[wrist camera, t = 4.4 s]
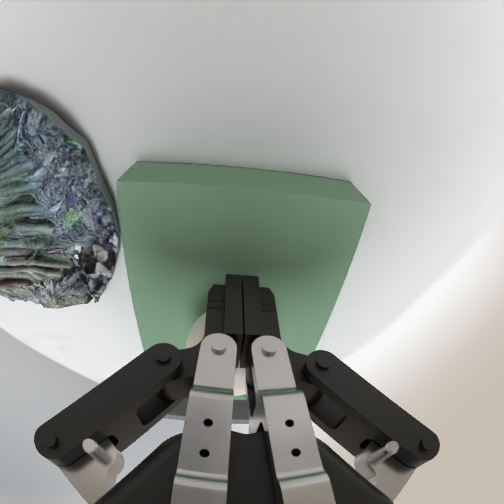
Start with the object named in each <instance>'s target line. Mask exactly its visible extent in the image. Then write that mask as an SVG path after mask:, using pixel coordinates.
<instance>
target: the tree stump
mask: <svg viewBox="0 0 504 504" xmlns="http://www.w3.org/2000/svg"><path fill="white" fill-rule="evenodd" d="M75 245H79V246H81V247H82V248H81V252H80V253H79V251H78V250H75ZM118 250H119V226H118V221H117V216H116V211H115V207H114V201H113V199H112V197H111V195H110V192H109V190H108V188H107V185H106V183H105V181H104V178H103V176H102V174H101V171H100V169H99V166H98V164H97V161H96V159H95V156H94V154H93V151H92V149H91V146H90V144H89V142H88V141H87V140H86V139H85V138H83V137H82V136H81V135H80V134H79V133H78V132H76V131H75V130H74V129H73V128H72V127H70V126H69V125H68V124H67V123H66V122H65V121H63V120H62V119H61V118H60V117H59V116H58V115H57V114H56V113H54V112H53V111H52V110H50V109H49V108H47V107H45V106H43V105H41V104H39V103H38V102H36V101H34V100H32V99H30V98H28V97H25V96H22V95H19V94H16V93H13V92H10V91H8V90H4V89H0V295H2V296H4V297H6V298H9V299H10V300H11V301H15V300H24V301H25V302H26V301H28V300H30V301H33V302H34V303H35V304H41V305H43V307H44V308H45V307H46V308H63V307H68V306H72V305H78V304H84V303H85V304H88V303H89V302H90V301H91V300H92V299H93V298H94V297H95V303H96V302H98V301H99V298H100V296H101V295H102V294H103V292H104V290H105V289H106V285H107V283H108V281H109V280H110V279H111V278H112V274H113V270H114V266H115V262H116V258H117V254H118ZM75 254H77V255H78V257H79V259H76V258H74V255H75Z"/></svg>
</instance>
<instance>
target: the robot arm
mask: <svg viewBox="0 0 504 504" xmlns="http://www.w3.org/2000/svg"><path fill="white" fill-rule="evenodd" d="M239 363H240V368H245V375H246V377H245V382H244V386H245V393H246V401H247V409H248V416H249V434H242V433H238V432H234V431H231V425H232V411H233V398H234V378H235V371H236V368H238V365H239ZM187 397H189V400H188V405H187V411H186V417H185V423H184V429H183V433H181V434H178V435H175V436H173V437H171V438H169V439H167V440H166V441H164V442H163V443H162V444H161V445H159V447H157V448H156V449H155V450H154V451H153V452H152V453H151V454H150V455H149V456H148V457H147V458H145V459H144V460H143V461H142V462H141V463H140V464H139V465H138V466H137V467H135V468H134V469H133V470H132V471H131V472H130V473H129V474H128V475H126V477H124V478H123V479H122V480H121V481H120V482H118V483H117V484H116V485H115V481H116V477H117V475H118V474H119V473H120V472H121V470H122V469H123V467H124V458H123V455H122V453H121V452H122V451H123V450H124V449H126V448H127V447H128V446H130V445H131V444H132V443H133V442H135V441H136V440H137V439H138V438H139V437H141V436H142V435H143V434H144V433H146V432H147V431H148V430H149V429H150V428H151V427H152V426H154V425H155V424H156V423H157V422H158V421H160V420H161V419H162V418H163V417H164V416H166V415H167V414H168V413H169V412H170V411H171V410H172V409H174V408H175V407H176V406H177V405H178V404H179V403H180V402H182V401H183V399H184V398H187ZM311 420H312V421H313V422H314V423H315V424H316V425H318V426H319V427H320V428H321V429H322V430H323V431H325V432H326V433H327V434H328V435H329V436H330V437H332V438H333V439H334V440H335V441H336V442H337V443H339V444H340V445H341V446H342V447H344V448H345V449H346V450H347V451H348V452H350V453H351V454H352V455H354V456H355V460H354V465H355V469H356V470H355V469H353V467H351V466H350V465H349V464H348V463H347V462H345V461H344V460H343V459H342V458H341V457H340V456H339V455H338V454H337V453H335V452H334V451H333V450H332V449H331V448H330V447H329V446H328V445H326V444H325V443H324V442H322V441H321V440H319V439H318V438H316V437H315V435H314V431H313V427H312V423H311ZM34 443H35V446H36V449H37V450H38V452H39V453H40V454H41V455H42V456H44V457H45V458H47V459H48V460H50V461H51V462H52V463H53V464H55V465H56V466H58V467H59V468H60V469H61V471H62V472H63V473H64V475H65V476H66V477H67V478H68V480H69V481H70V482H71V484H72V485H73V486H74V487H75V489H77V491H78V492H79V493H80V495H81V496H82V497H83V498H84V499H85V500H86V501H87V503H88V504H394V503H393V500H394V499H395V498H396V496H397V495H398V494H399V492H400V491H401V490H402V488H403V487H404V485H405V484H406V483H407V481H408V480H409V478H410V477H411V475H412V474H413V472H414V471H415V469H416V468H417V467H419V466H420V465H422V464H424V463H426V462H427V461H429V460H431V459H433V458H434V457H435V456H436V455H437V453H438V451H439V447H440V443H439V439H438V437H437V435H436V434H435V433H434V432H432V431H431V430H430V429H428V428H427V427H426V426H425V425H423V424H422V423H420V422H419V421H418V420H416V419H415V418H414V417H412V416H411V415H410V414H409V413H407V412H406V411H405V410H403V409H402V408H401V407H399V406H398V405H397V404H396V403H394V402H393V401H391V400H390V399H389V398H388V397H386V396H385V395H384V394H383V393H381V392H380V391H379V390H377V389H376V388H375V387H374V386H372V385H371V384H370V383H368V382H367V381H366V380H364V379H363V378H362V377H361V376H360V375H358V374H357V373H356V372H355V371H353V370H352V369H351V368H350V367H348V366H347V365H346V364H344V363H343V362H342V361H341V360H339V359H338V358H337V357H336V356H335V355H333V354H332V353H330V352H328V351H324V350H317V351H313V352H312V353H310V354H309V355H304V354H301V353H297V352H294V351H292V350H290V349H289V348H287V347H286V346H285V344H284V343H283V342H282V340H281V336H280V329H279V322H278V315H277V309H276V302H275V296H274V294H273V293H272V291H271V290H270V289H269V288H268V287H259V277H258V276H251V275H242V276H241V275H235V274H226V277H225V285H220V284H213V286H212V287H211V289H210V290H209V291H208V301H207V310H206V321H205V332H204V337H203V339H202V340H201V341H200V342H199V343H198V344H197V345H195V346H193V347H190V348H186V349H180V350H179V349H178V348H177V347H175V346H174V345H172V344H169V343H158V344H155V345H153V346H151V347H150V348H149V349H147V350H146V351H144V352H143V353H142V354H140V355H139V356H138V357H136V358H135V359H134V360H132V361H131V362H129V363H128V364H127V365H125V366H124V367H123V368H121V369H120V370H118V371H117V372H116V373H114V374H113V375H111V376H110V377H109V378H107V379H106V380H105V381H103V382H102V383H100V384H99V385H98V386H96V387H95V388H93V389H92V390H91V391H89V392H88V393H86V394H85V395H84V396H82V397H81V398H79V399H78V400H77V401H75V402H74V403H72V404H71V405H70V406H68V407H67V408H65V409H64V410H62V411H61V412H60V413H58V414H57V415H55V416H54V417H53V418H51V419H50V420H48V421H47V422H45V423H44V424H43V425H41V426H40V427H39V428H38V429H37V431H36V433H35V436H34ZM358 472H359V473H358Z"/></svg>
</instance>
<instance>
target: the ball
mask: <svg viewBox="0 0 504 504" xmlns="http://www.w3.org/2000/svg"><path fill="white" fill-rule="evenodd" d="M205 321H206V313H204V314H203V315H201V316H200V317H199V318H198V319H197V320H196V321H195V323H194V324H193V326H192V327H191V329H190V331H189V333H188V336H187V340H186V348H190V347H193V346H195V345H197V344H198V343H199V342H200V341H201V340H202V339H203V337H204V332H205ZM186 348H185V349H186ZM245 377H246V375H245V368H240V363H239V365H238V368H236V371H235V378H234V396H241V395H245V394H246V393H245V386H244V382H245Z"/></svg>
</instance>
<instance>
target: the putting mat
mask: <svg viewBox="0 0 504 504" xmlns="http://www.w3.org/2000/svg"><path fill="white" fill-rule="evenodd" d="M116 183H117V196H118V207H119V216H120V225H121V233H122V241H123V248H124V255H125V262H126V268H127V274H128V279H129V285H130V290H131V295H132V301H133V305H134V310H135V315H136V319H137V324H138V328H139V332H140V336H141V341H142V345H143V348H144V351H146V350H147V349H149V348H150V347H151V346H153V345H155V344H158V343H169V344H172V345H174V346H175V347H177V348H178V349H179V350H180V349H185V348H186V340H187V336H188V333H189V331H190V329H191V327H192V326H193V324H194V323H195V321H196V320H197V319H198V318H199V317H200V316H201V315H203V314H204V313H206V310H207V301H208V291H209V290H210V289H211V287H212V286H213V284H220V285H225V277H226V274H235V275H241V276H242V275H251V276H258V277H259V287H268V288H269V289H270V290H271V291H272V293H273V294H274V296H275V302H276V309H277V315H278V322H279V329H280V336H281V340H282V342H283V343H284V344H285V346H286V347H287V348H289V349H290V350H292V351H294V352H297V353H301V354H304V355H309V354H310V353H312V352H313V351H315V349H316V347H317V344H318V342H319V340H320V338H321V336H322V333H323V331H324V329H325V326H326V324H327V322H328V320H329V317H330V315H331V312H332V310H333V308H334V305H335V303H336V300H337V298H338V295H339V293H340V290H341V288H342V285H343V283H344V280H345V278H346V275H347V272H348V270H349V267H350V264H351V262H352V259H353V256H354V253H355V251H356V248H357V245H358V242H359V239H360V236H361V233H362V230H363V227H364V224H365V221H366V218H367V215H368V212H369V209H370V206H371V204H370V203H369V201H368V200H367V199H366V198H365V197H364V196H363V195H362V194H361V193H360V192H359V190H358V189H357V188H356V187H355V186H354V185H353V184H352V183H351V182H348V181H342V180H336V179H330V178H323V177H317V176H310V175H302V174H295V173H287V172H279V171H270V170H261V169H252V168H241V167H230V166H217V165H203V164H185V163H161V162H136V163H135V164H134V165H133V166H131V167H130V168H129V169H128V170H127V171H126V172H125V173H124V174H123V175H122V176H121V177H120V178H119V179H118V180H117V181H116ZM188 400H189V397H187V398H184V399H183V401H182V402H180V403H179V404H178V405H177V406H176V407H175V408H174V409H172V410H171V411H170V412H169V413H168V414H167V415H166V416H164V417H163V418H168V419H176V420H185V417H186V411H187V405H188ZM232 424H249V416H248V409H247V401H246V394H245V395H241V396H234V398H233V411H232Z"/></svg>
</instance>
